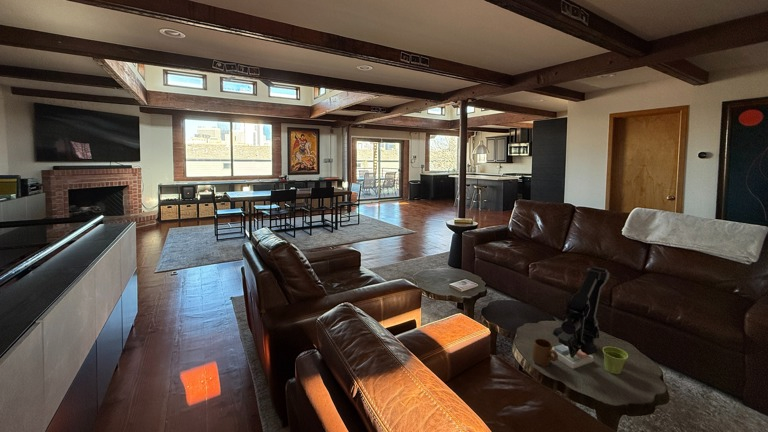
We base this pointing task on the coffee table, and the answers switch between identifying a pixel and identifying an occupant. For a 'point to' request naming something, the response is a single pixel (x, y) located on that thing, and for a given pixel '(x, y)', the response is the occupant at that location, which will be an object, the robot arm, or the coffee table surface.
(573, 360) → the key sage
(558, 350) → the key slate
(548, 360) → the mug
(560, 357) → the keypad
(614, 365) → the plant pot
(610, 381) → the coffee table surface
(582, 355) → the key coral
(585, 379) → the coffee table surface
